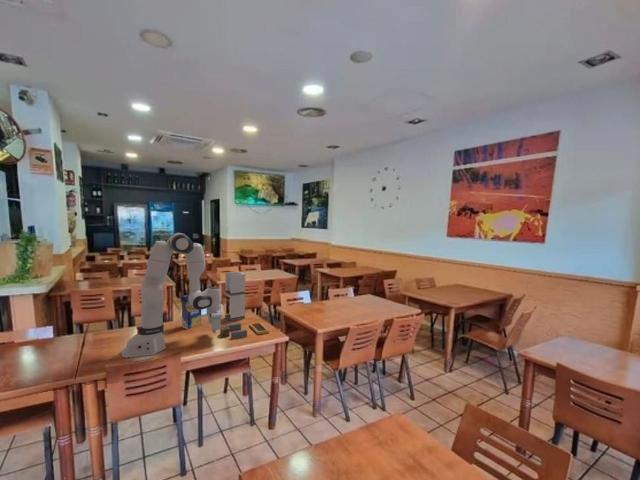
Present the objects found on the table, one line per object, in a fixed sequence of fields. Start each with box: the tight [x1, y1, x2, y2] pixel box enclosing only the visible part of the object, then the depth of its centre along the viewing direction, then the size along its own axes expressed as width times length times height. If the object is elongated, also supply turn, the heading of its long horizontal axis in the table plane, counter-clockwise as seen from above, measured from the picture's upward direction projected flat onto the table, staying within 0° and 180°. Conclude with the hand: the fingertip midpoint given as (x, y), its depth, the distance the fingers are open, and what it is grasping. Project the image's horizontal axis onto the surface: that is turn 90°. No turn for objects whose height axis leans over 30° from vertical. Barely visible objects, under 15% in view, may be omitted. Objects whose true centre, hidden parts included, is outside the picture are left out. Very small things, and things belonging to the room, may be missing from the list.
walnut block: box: [219, 326, 231, 338], centre depth 206 cm, size 5×5×5 cm
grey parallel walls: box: [225, 322, 248, 340], centre depth 210 cm, size 10×16×4 cm, turn 31°
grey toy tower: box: [224, 271, 246, 322], centre depth 241 cm, size 11×11×35 cm
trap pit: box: [248, 321, 270, 336], centre depth 219 cm, size 8×18×2 cm, turn 31°
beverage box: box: [181, 294, 202, 330], centre depth 221 cm, size 7×11×22 cm, turn 148°
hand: (214, 332), depth 203 cm, fingers closed
